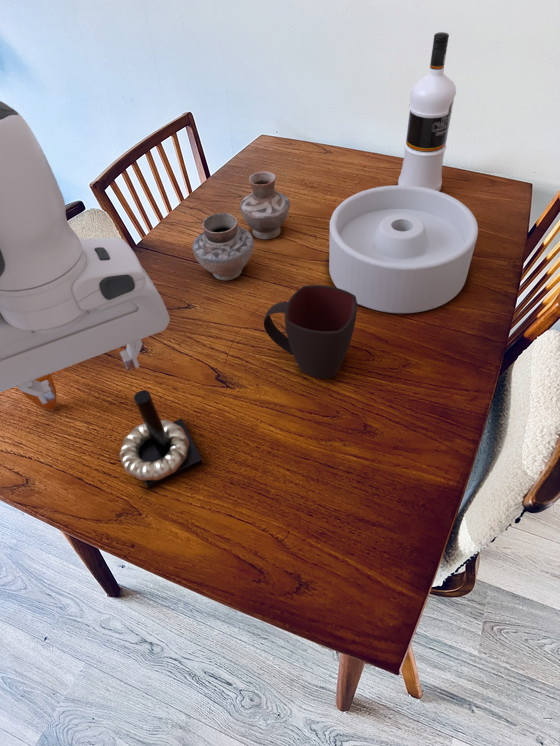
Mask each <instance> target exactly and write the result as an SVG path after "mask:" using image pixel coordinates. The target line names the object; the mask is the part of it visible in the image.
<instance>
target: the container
mask: <svg viewBox="0 0 560 746" xmlns="http://www.w3.org/2000/svg"><path fill="white" fill-rule="evenodd" d="M478 234H479V225H478V222H477V219H476V216H475V215H474V213H473V212H472V210H470V208H468V206H466V205H465V204H464V203H462V201H460V200H458V199H457V198H455V197H453V196H451V195H449V194H447V193H445V192H441V191H436V190H432V189H428V188H424V187H418V186H407V185H398V184H397V185H393V184H392V185H382V186H377V187H372V188H370V189H366V190H362V191H359V192H357V193H355V194H353V195H351V196H349V197H348V198H346V199H344V200H343V201H342V202H341V203H340V204H339V205H338V206H336V208H335V209H334V210H333V212H332V214H331V217H330V220H329V243H328V245H329V249H328V252H329V254H328V261H329V262H328V270H329V275H330V278H331V281H332V282H333V284H334V286H335V288H339V289H342V290H345V291H347V292H349V293H351V294H353V295H355V296H356V300H357V305H360V306H362V307H365V308H368V309H371V310H374V311H378V312H383V313H388V314H389V313H390V314H415V313H421V312H426V311H429V310H433V309H436V308H438V307H441V306H443V305H445V304H447V303H448V302H450V301H451V300H453V299H454V298H455V297H456V296H457V295H458V294H459V293H460V292H461V291H462V290H463V288H464V286H465V284H466V281H467V277H468V273H469V269H470V267H471V262H472V258H473V254H474V251H475V247H476V243H477V239H478V236H479V235H478Z"/></svg>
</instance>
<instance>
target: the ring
mask: <svg viewBox="0 0 560 746" xmlns="http://www.w3.org/2000/svg"><path fill="white" fill-rule="evenodd" d="M160 420H161V422H162V425H163V427H164V430H165V432H166V435H167V437H168V440H169V442H170V444H171V446H170V451H169V452H168V453H167V454H166V455H165V457H164V458H161V459H159V460H157V461H155V462H145V461H144V460H142V459H140V457H139V454H138V453H139V449H140V447H141V446H142V445H143V443H144V442H145V441H147V440H149V439H151V437H150V434H149V432H148V430H147V428H146V425H145V423H144V422H143V423H140V424H138V425H137V426H135V427H134V428H133V429H131V431H130V432H129V433H128V434H127V435H126V436H125V437H124V439H122V443H121V447H120V451H119V460H120V462H121V464H122V467H123V470H124V471H125V473H127V474H129V475H130V476H132V477H134V478H135V479H137V480H139V481H144V480H159V479H162V478H164V477H166V476H168V475H170V474H172V473H174V472H175V471H176V470H177V469H178V468H179V467H180V465H181V464H182V463H183V462H184V460H185V459H186V457H187V452H188V446H189V440H188V438H187V436H186V434H185V432H184V430H183V429H182V427H180V426H179V425H177V424H175V423H173V422H174V421H171V420H168V419H160Z"/></svg>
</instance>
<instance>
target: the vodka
mask: <svg viewBox="0 0 560 746" xmlns="http://www.w3.org/2000/svg"><path fill="white" fill-rule="evenodd" d="M449 37H450V34H449V33H448V32H445V31H441V32H436V33H434V35H433V41H432V47H431V48H432V49H431V55H430V56H431V57H430V63H429V68H428V69H429V70H428V73H427V74H425V75H423V76H422V77H421V78H419V79H418V80H416V81H415V82H414V83H413V85H412V87H411V90H410V98H409V99H410V100H409V102H410V103H409V106H408V107H409V113H408V121H407V122H408V123H407V129H406V137H405V138H406V139H405V142H404V153H403V154H404V155H403V159H402V160H403V161H402V165H401V170H400V174H399V176H398V181H397V185H407V186H418V187H424V188H428V189H432V190H436V191H439V192H441V189H442V185H443V184H442V183H443V178H442V174H443V163H444V157H445V153H446V149H447V141H448V134H449V130H450V129H449V128H450V124H451V117H452V113H453V106H454V100H455V97H456V94H457V89H456V88H457V87H456V84H455V83H454V81H453V80H452V79H451V78H450V77H448V76H447V75H446V74H444V73H445V72H444V71H445V62H446V57H447V50H448V43H449Z"/></svg>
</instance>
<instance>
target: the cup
mask: <svg viewBox="0 0 560 746" xmlns="http://www.w3.org/2000/svg"><path fill="white" fill-rule="evenodd" d="M357 313H358V303H357V300H356V296H355V295H353V294H351V293H349V292H347V291H345V290H342V289H339V288H337V287H336V286H335V287H334V286H330V285H322V284H321V285H320V284H309V285H302V286H301V287H300V288H298V289H297V290H296V291H295V292H294V293H293V294H292V296H291V297H290V298H289V300H288V301H279V302H278V303H275V304H273V305H271V307H269V309H267V311H266V313H265V316H264V319H263V327H264V331H265V332H266V334H267V335H268V337H269V338H270V339H271V340H272V341H273V342H274V343H275V344H276V345H277V346H278V347H280V348H281V349H282V350H283V351H285V352H287V353H288V354H290V355H291V356H293V357H294V360H295V362H296V364H297V366H298V368H299V369H300V370H301V372H303V373H304V374H306V375H308V376H310V377H313V378H316V379H324V380H325V379H326V380H327V379H332V378H333V377H334V376H336V375H337V373H338V372H339V370H340V368H341V366H342V365H343V362H344V360H345V358H346V355H347V353H348V350H349V347H350V344H351V342H352V338H353V335H354V334H353V333H354V332H355V331H354V330H355V327H356V326H355V325H356V322H357V321H356V320H357ZM273 314H284V325H285V326H284V327H285V331H286V335H285V334H284V332H282V331H281V330H280V329H278V327H277V326H276V325H275V323H274V322H273V320H272V317H271V315H273Z"/></svg>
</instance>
